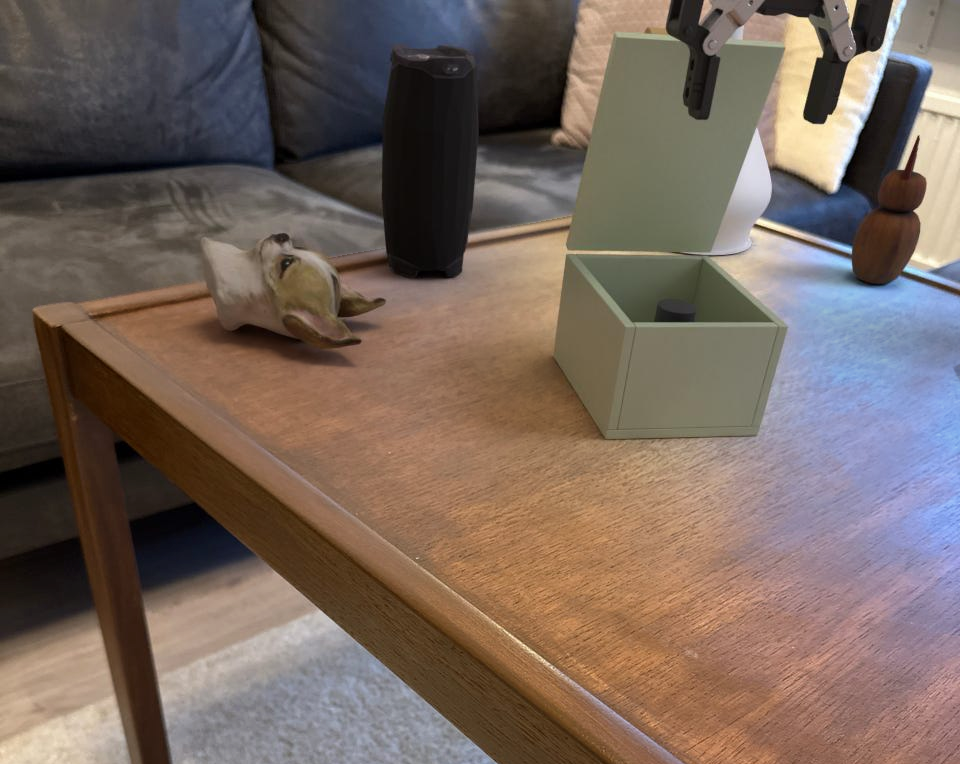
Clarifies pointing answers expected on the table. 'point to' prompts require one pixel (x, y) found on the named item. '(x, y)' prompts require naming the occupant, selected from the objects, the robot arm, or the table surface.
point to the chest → (665, 347)
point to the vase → (744, 196)
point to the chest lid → (667, 145)
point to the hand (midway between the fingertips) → (756, 119)
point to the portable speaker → (429, 158)
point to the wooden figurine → (890, 226)
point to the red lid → (675, 311)
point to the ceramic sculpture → (282, 291)
